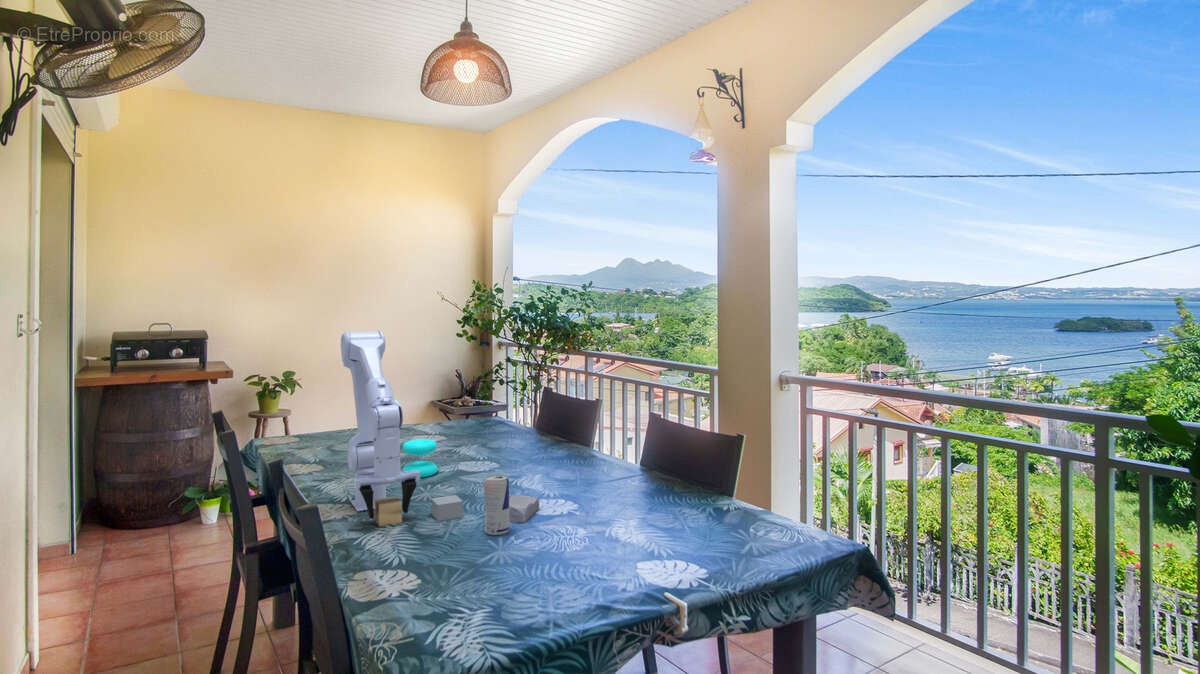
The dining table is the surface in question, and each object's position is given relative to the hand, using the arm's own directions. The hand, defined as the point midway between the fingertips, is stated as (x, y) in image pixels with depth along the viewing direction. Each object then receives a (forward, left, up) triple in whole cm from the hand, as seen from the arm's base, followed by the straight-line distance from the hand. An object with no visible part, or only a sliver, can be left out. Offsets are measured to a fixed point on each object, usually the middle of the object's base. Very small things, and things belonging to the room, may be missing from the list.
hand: (388, 514), depth 148 cm
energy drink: (+20, +19, -2) cm, 28 cm away
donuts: (-40, +18, -2) cm, 44 cm away
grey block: (+3, +13, -2) cm, 13 cm away
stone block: (+11, +27, -2) cm, 29 cm away
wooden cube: (0, 0, -2) cm, 2 cm away
